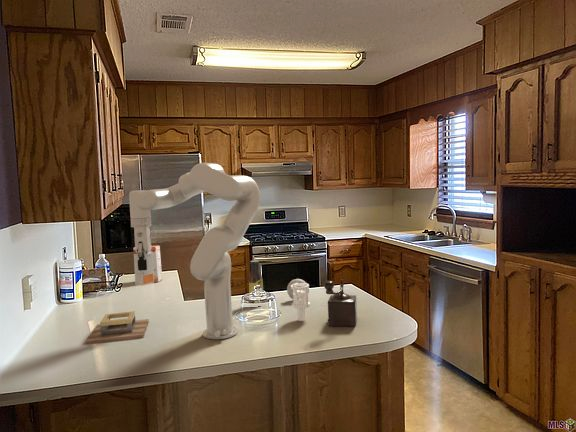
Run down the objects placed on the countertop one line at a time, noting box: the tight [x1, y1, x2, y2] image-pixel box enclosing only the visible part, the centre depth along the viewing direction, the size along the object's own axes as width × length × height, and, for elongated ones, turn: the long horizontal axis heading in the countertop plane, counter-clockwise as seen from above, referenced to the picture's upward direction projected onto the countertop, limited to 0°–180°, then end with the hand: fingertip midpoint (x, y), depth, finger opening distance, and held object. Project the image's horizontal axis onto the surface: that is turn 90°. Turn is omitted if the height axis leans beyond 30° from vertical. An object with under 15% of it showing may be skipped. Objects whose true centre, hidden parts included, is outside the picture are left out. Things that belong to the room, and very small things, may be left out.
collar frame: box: [99, 311, 137, 335], centre depth 181 cm, size 11×11×5 cm
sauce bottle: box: [248, 259, 264, 294], centre depth 209 cm, size 6×6×20 cm
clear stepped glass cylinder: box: [291, 282, 311, 322], centre depth 184 cm, size 7×7×15 cm
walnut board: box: [85, 318, 150, 345], centre depth 181 cm, size 20×20×1 cm
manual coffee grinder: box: [323, 279, 358, 328], centre depth 175 cm, size 16×11×18 cm
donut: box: [286, 278, 310, 300], centre depth 213 cm, size 10×3×10 cm, turn 86°
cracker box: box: [132, 245, 163, 283], centre depth 273 cm, size 14×6×21 cm, turn 80°
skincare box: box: [133, 252, 155, 287], centre depth 181 cm, size 6×4×12 cm
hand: (144, 267), depth 181 cm, fingers closed on skincare box, 7 cm apart
